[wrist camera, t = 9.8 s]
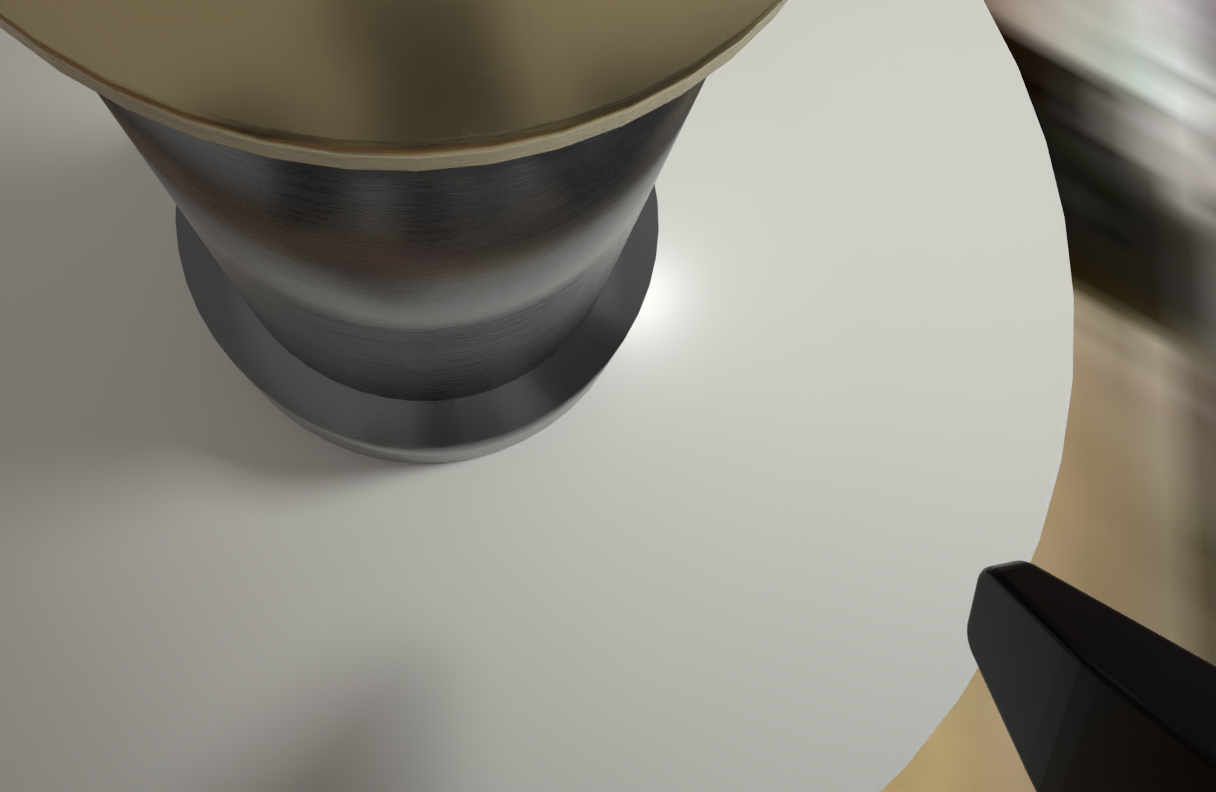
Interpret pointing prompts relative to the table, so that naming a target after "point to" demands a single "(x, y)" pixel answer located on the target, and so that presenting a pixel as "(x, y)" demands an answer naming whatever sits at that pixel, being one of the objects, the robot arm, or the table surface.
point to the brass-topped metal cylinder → (406, 189)
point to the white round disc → (552, 465)
